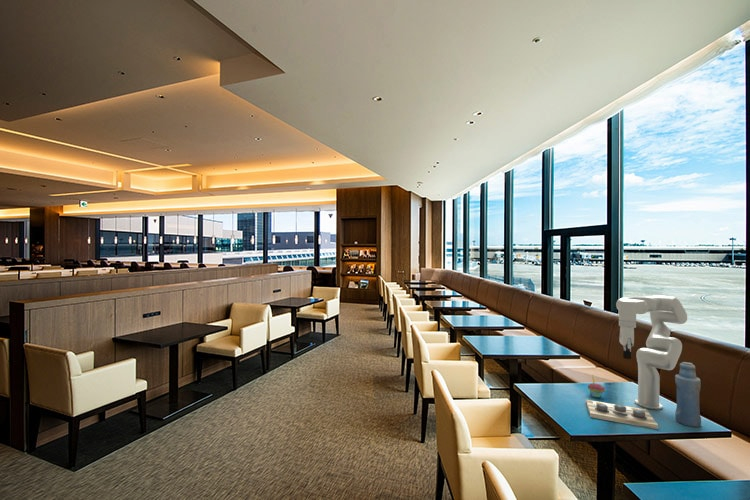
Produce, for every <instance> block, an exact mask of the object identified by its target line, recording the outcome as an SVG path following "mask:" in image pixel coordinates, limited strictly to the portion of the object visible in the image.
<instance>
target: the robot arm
mask: <svg viewBox="0 0 750 500" xmlns="http://www.w3.org/2000/svg"><path fill="white" fill-rule="evenodd" d="M615 306H616V309H617V310H618V327H620V328H619V341H618V342H619V343H620V344H621V345H622V346H623V348H622V349H623V351H622V352H623V353H622V357H623V359H625V360H631V359H632V347H634V345H635V328H637V315H644V314H646V313H649V316H650V318H649V319H650V322H651V325H652V326H651V327H652V328H651V331H650V332H649V335H648V336H647V339H646V341H645V345H646V347H641V348H638V349H637V351H636V353H635V354H636V362H637V370H638V372H637V374H638V375H637V377H638V378H637V379H638V380H637V398H636V399H634V404H636V405H637V406H639V407H643V408H644V409H648V410H649V409H650V410H656V411H657V410H663V408H664V406H663V404H661V403H660V379H661V378H660V373H659V371H658V370H657V369H661V370H666V371H672V370H674V369H675V368H676V365H677V363H678V360H679V359H680V356H681V354H682V351H683V343H682V341H681V340H680V338H676V337H673V336H672V337H671V330H670V329H669V327H668V326H667V325H666V323H668V324H669V323H670V324H675V325H676V324H677V325H683V324H685V323H687V321H688V314H687V312H686V309H685V308H684V306H683V304H682V302H681V301H680V300H679V299H678V298H677V297H675V296H670V295H667V296H666V295H658V294H657V295H656V294H655V295H647V296H630V297H629V296H627V297H621V298H619V299H617V301H616V302H615Z"/></svg>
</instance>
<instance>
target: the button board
mask: <svg viewBox="0 0 750 500" xmlns="http://www.w3.org/2000/svg"><path fill="white" fill-rule="evenodd" d="M592 401H593V400H591V399H585V404H586V409H587V410H588V414H589V416H590V418H592V419H593V418H594V419H599V420H606V421H611V422H616V423H622V424H627V425H632V426H637V427H643V428H648V429H653V430H659V424H658V423H657V422H656V421H655V419H654V418H653V416H652V415H651V414H650V412H649V411H648V409H647V408H640V407H639V408H638V407H637V408H638V409H641V410H642V411H643V412H645V418H640V417H636V416H634V415H633V411H628V410H626V412H618V411H616V410H615V409H614V408H610V407H608V411H600V410H598V409H597V408H596V405H594V404H593V402H592ZM595 401H596V402H599V401H597V400H595ZM602 403H605V402H603V401H602ZM607 403H608V404H611V403H609V402H607ZM613 404H614V405H616V404H615V403H613ZM625 406H626V407H629V406H628V405H625ZM631 407H632V408H635V407H633V406H631Z"/></svg>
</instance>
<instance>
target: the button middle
mask: <svg viewBox="0 0 750 500" xmlns="http://www.w3.org/2000/svg"><path fill="white" fill-rule="evenodd" d="M625 406H626V405H622V404H616V405H614V409H615V410H616V411H618V412H626V407H625Z"/></svg>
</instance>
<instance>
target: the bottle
mask: <svg viewBox="0 0 750 500" xmlns="http://www.w3.org/2000/svg"><path fill="white" fill-rule="evenodd" d="M674 380H675V381H674V383H675V385H676V408H675V418H674V419H675V421H676V422H678V423H679V424H681V425H684V426H687V427H692V428H699V427H701V425H702V417H701V413H700V411H701V410H700V392H701V379H700V377H698V376H697V373H696V365H694V364H693V363H692V362H687V361H682V362H680V363H679V373H678V374H675V376H674Z"/></svg>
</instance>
